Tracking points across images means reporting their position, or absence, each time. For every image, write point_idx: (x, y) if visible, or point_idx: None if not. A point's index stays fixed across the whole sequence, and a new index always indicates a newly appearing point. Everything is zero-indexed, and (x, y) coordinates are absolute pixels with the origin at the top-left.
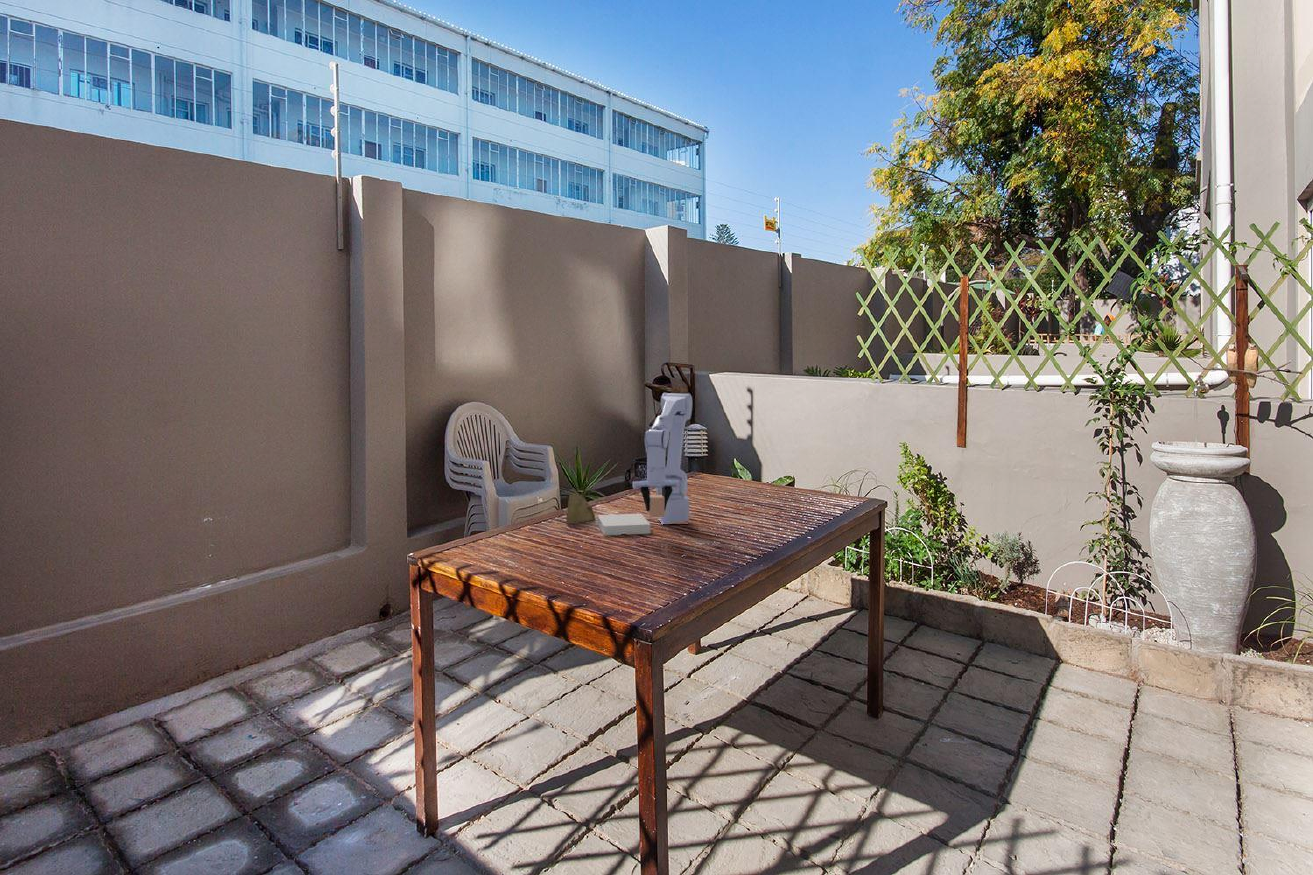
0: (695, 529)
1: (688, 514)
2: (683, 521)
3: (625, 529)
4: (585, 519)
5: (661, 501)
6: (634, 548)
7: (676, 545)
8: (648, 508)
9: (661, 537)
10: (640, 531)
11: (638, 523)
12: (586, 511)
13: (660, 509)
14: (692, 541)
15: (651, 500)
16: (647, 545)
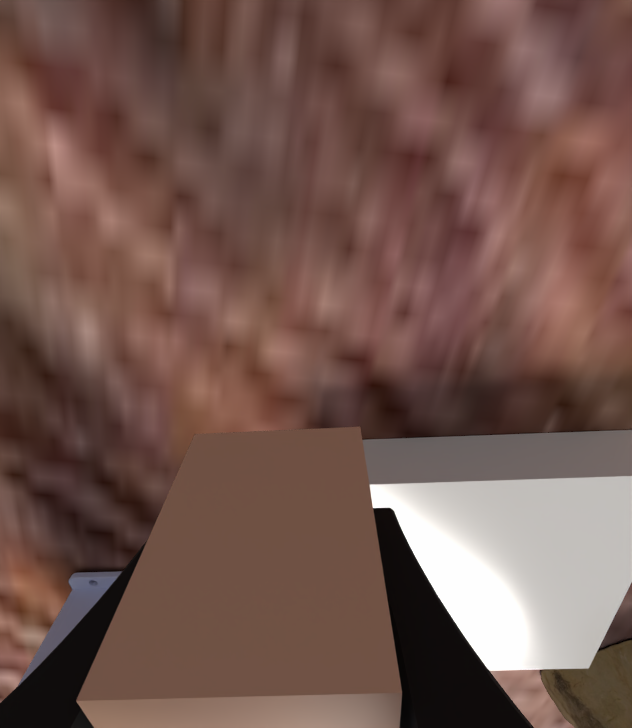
0: (28, 491)
1: (49, 637)
2: (101, 593)
3: (500, 458)
4: (603, 661)
5: (172, 612)
6: (567, 3)
7: (144, 75)
8: (387, 531)
9: (256, 346)
10: (388, 449)
11: (403, 512)
12: (614, 715)
13: (222, 495)
14: (8, 204)
15: (370, 635)
16: (412, 112)
